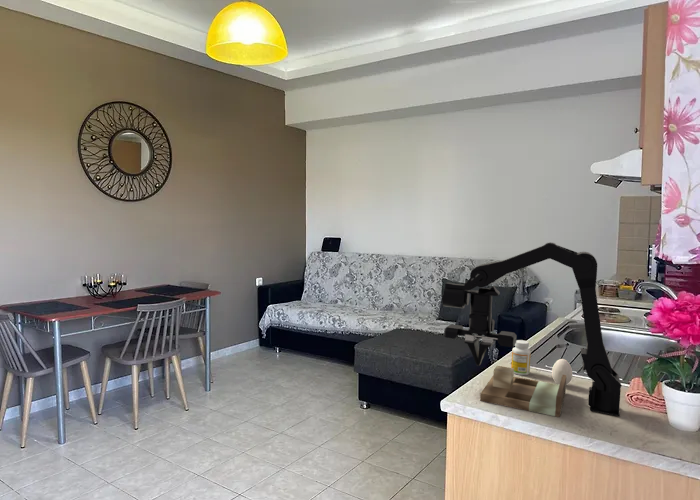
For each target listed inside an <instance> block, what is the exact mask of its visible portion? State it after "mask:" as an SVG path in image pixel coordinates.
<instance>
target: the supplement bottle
mask: <svg viewBox="0 0 700 500" xmlns="http://www.w3.org/2000/svg"><path fill="white" fill-rule="evenodd" d="M514 346H515V347H514ZM514 346H513V347H512V349H511V350H512V351H511V366H510V368H514V375H517V376H518V375H519V376H528V375H529V374H531V373H530V372H531V355H532V354H531V353H532V352H531V349H530V348H529V347H530V341H527V340H523V339H516V343H515V345H514Z"/></svg>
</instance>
